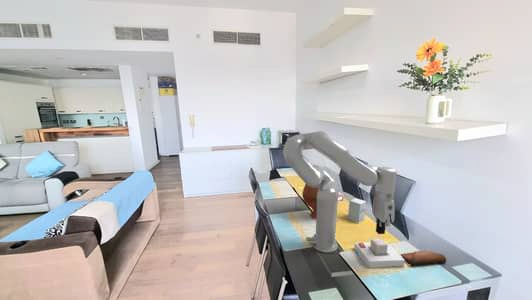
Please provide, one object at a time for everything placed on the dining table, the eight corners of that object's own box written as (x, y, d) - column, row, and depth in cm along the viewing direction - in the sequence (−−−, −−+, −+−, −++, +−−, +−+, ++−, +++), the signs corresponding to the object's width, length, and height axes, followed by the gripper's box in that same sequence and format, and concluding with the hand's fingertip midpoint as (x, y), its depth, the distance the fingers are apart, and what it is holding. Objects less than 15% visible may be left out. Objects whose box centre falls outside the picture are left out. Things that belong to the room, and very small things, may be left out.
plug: (386, 260, 102) (387, 244, 100) (375, 260, 101) (377, 244, 100) (379, 253, 107) (381, 238, 105) (369, 253, 106) (371, 238, 105)
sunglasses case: (429, 251, 108) (437, 244, 104) (440, 266, 103) (449, 260, 99) (396, 255, 105) (403, 248, 101) (405, 270, 100) (413, 264, 96)
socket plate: (368, 267, 96) (369, 259, 96) (354, 248, 110) (354, 241, 110) (404, 266, 98) (405, 258, 97) (385, 247, 111) (385, 240, 111)
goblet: (299, 221, 137) (301, 182, 133) (303, 208, 155) (305, 174, 151) (331, 226, 132) (334, 185, 127) (332, 212, 150) (334, 176, 146)
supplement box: (358, 223, 135) (360, 204, 133) (347, 219, 140) (348, 200, 138) (364, 220, 139) (366, 201, 137) (353, 215, 145) (355, 197, 143)
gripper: (403, 201, 92) (398, 242, 95) (382, 189, 107) (378, 224, 110) (386, 201, 91) (381, 242, 94) (367, 189, 106) (363, 224, 109)
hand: (380, 232), depth 102 cm, fingers closed
